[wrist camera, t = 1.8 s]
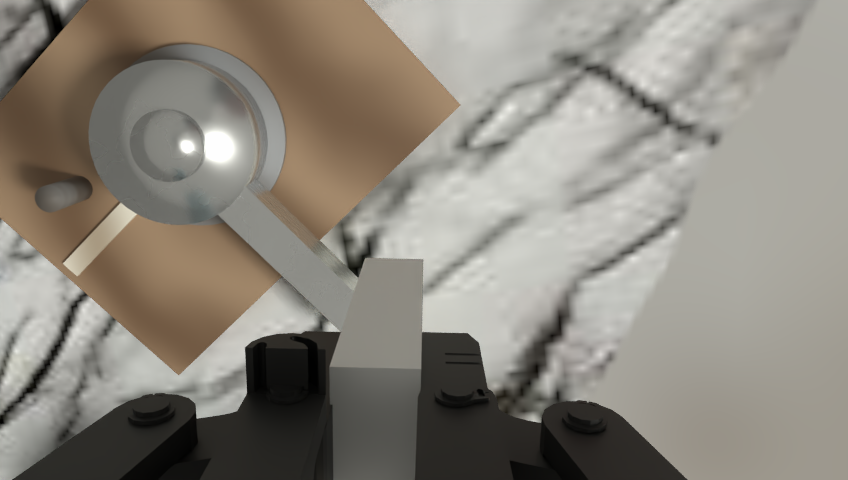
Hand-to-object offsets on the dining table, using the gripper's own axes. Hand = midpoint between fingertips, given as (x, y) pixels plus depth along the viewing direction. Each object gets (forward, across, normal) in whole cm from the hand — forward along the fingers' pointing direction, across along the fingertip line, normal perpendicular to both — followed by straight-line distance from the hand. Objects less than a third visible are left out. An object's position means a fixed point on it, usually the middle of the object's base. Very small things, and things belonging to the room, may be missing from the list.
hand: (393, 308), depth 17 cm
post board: (+17, -10, +3) cm, 20 cm away
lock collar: (+15, -7, -1) cm, 16 cm away
